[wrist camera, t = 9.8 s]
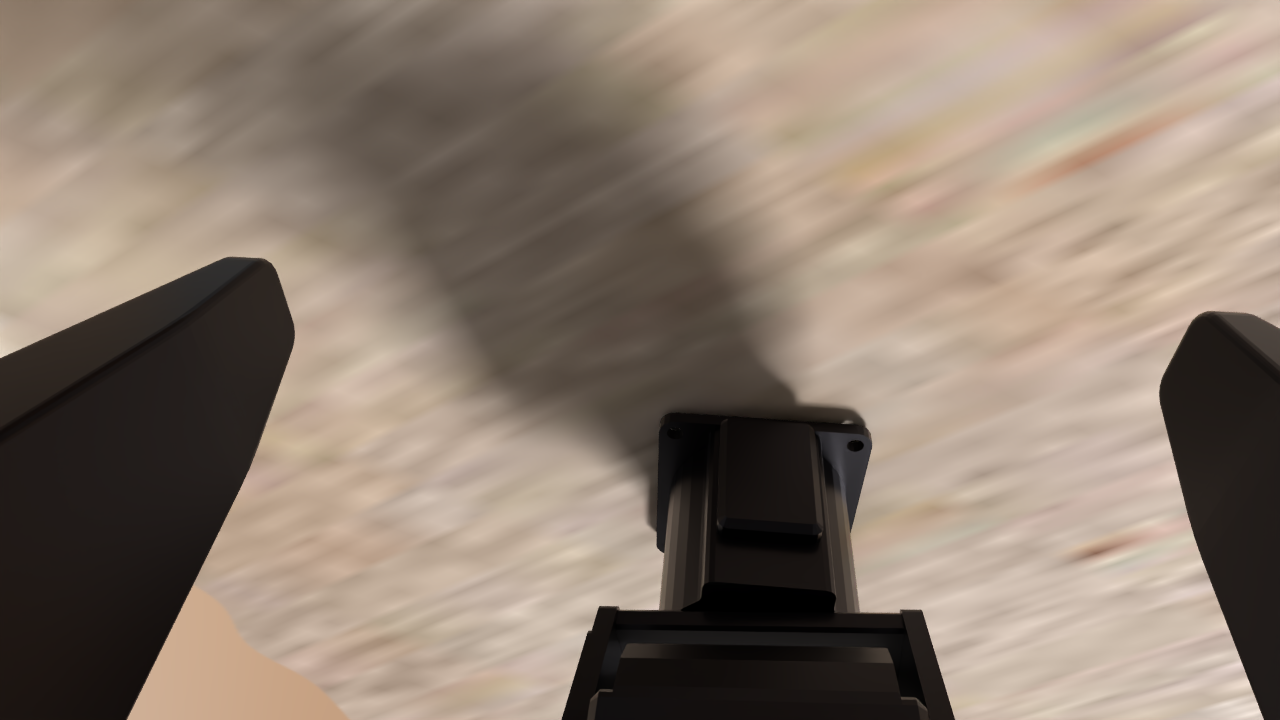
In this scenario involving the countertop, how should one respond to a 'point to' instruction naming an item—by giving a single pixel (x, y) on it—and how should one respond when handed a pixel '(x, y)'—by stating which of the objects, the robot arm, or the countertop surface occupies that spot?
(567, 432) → the countertop surface
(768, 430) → the robot arm
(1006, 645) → the countertop surface
